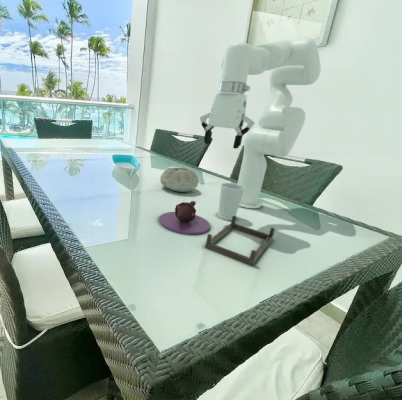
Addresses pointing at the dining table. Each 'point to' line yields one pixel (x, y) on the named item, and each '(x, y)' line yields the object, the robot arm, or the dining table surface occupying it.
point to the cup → (229, 200)
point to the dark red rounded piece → (185, 211)
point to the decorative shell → (179, 179)
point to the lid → (184, 224)
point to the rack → (235, 255)
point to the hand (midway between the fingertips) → (221, 145)
